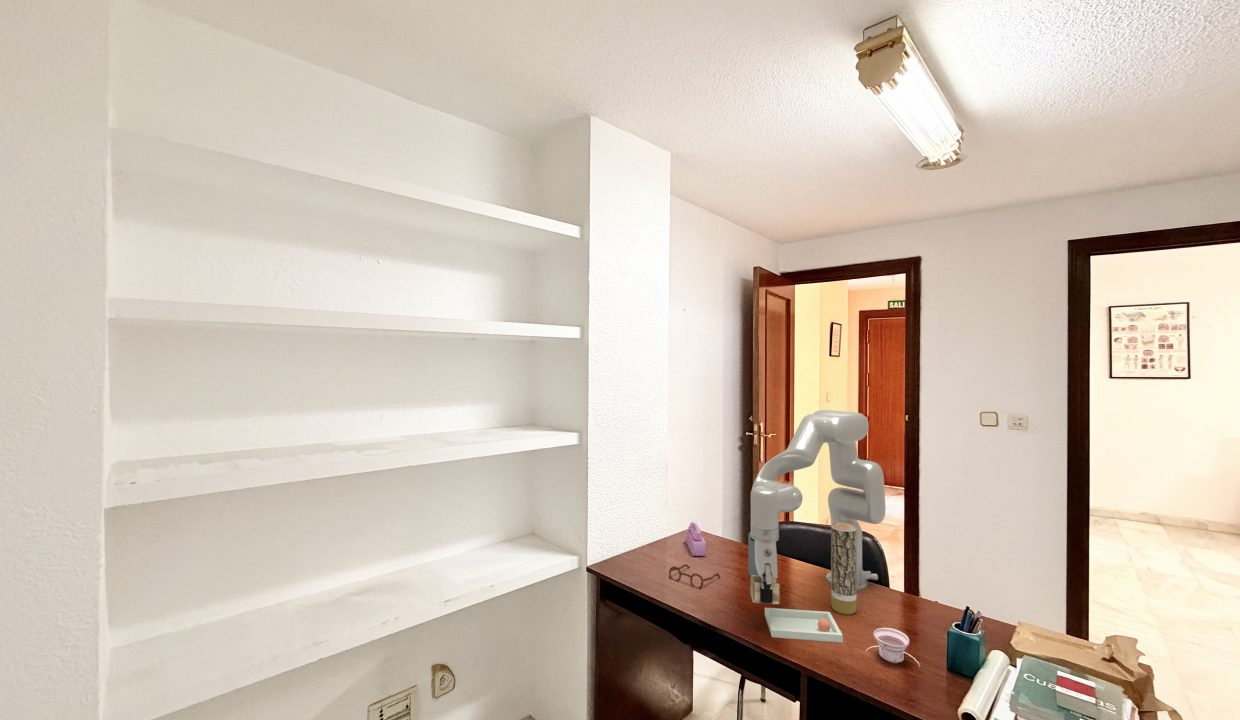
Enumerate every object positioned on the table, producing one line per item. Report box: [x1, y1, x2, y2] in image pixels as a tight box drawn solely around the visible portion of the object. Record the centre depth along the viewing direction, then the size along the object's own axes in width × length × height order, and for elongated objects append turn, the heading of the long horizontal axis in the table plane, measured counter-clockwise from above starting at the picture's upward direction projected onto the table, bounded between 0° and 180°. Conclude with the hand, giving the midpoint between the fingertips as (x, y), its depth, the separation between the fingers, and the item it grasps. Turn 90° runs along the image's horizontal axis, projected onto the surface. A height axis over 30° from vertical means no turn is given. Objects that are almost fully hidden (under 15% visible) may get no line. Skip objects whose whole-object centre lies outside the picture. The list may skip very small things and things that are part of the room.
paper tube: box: [830, 522, 857, 616], centre depth 147 cm, size 7×7×25 cm
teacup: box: [865, 627, 921, 668], centre depth 122 cm, size 12×12×6 cm
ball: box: [818, 619, 830, 632], centre depth 134 cm, size 3×3×3 cm
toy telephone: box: [683, 521, 707, 557], centre depth 195 cm, size 18×6×10 cm, turn 3°
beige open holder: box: [750, 575, 780, 605], centre depth 138 cm, size 7×5×5 cm
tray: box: [764, 607, 844, 644], centre depth 136 cm, size 18×12×2 cm, turn 82°
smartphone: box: [747, 531, 758, 577], centre depth 168 cm, size 8×1×15 cm, turn 47°
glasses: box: [668, 563, 722, 590], centre depth 168 cm, size 13×13×5 cm
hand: (764, 596), depth 138 cm, fingers closed on beige open holder, 5 cm apart
